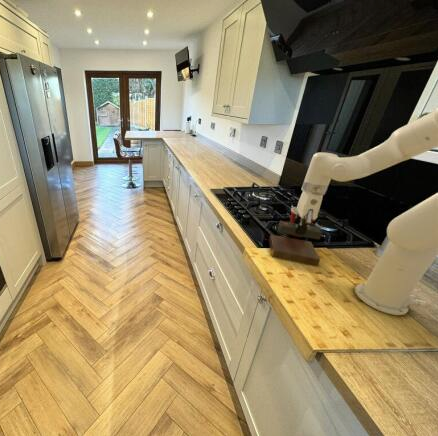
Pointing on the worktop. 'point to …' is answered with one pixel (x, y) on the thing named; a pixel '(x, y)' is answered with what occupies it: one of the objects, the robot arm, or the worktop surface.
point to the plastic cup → (293, 216)
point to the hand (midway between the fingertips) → (298, 230)
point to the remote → (291, 228)
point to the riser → (293, 250)
